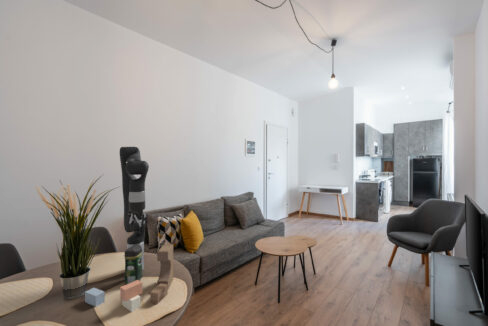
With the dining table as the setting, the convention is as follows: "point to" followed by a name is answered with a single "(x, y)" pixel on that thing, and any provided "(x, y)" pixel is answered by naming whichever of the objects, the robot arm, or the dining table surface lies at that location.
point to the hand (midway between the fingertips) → (137, 232)
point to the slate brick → (94, 297)
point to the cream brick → (132, 303)
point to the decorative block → (165, 264)
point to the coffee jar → (133, 264)
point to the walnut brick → (158, 293)
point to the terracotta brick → (131, 290)
